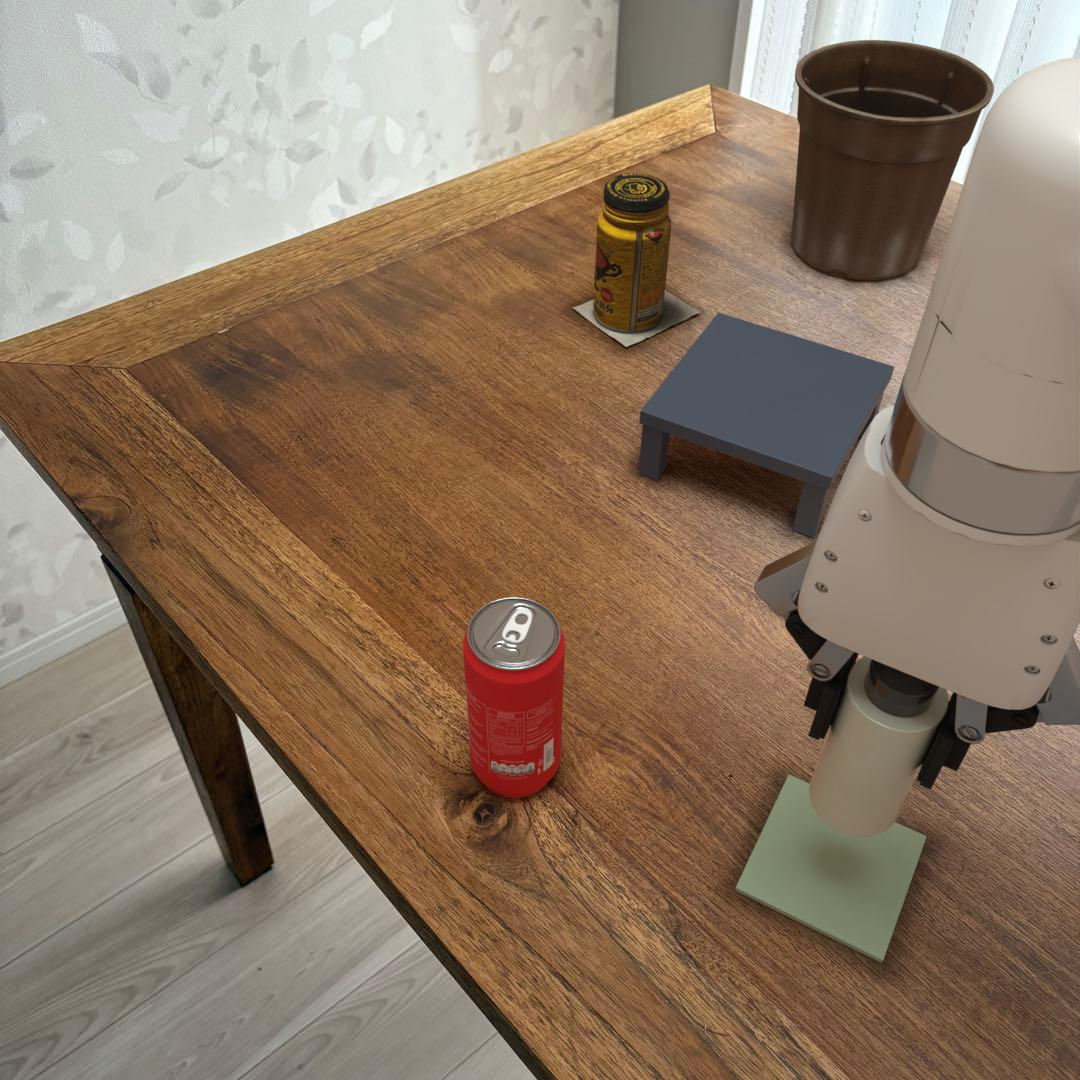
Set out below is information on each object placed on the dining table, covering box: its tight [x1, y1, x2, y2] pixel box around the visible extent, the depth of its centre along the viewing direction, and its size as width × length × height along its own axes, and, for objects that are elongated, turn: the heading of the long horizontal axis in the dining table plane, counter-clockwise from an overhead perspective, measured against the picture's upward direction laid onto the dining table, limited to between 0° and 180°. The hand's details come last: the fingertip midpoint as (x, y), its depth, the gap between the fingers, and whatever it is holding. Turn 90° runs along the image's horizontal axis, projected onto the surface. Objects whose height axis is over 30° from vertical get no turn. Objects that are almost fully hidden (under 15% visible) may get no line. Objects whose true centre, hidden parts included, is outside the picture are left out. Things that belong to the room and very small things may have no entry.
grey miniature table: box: [637, 312, 895, 539], centre depth 82 cm, size 14×14×6 cm
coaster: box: [734, 774, 928, 964], centre depth 60 cm, size 8×8×1 cm
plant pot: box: [790, 39, 995, 281], centre depth 99 cm, size 16×16×16 cm
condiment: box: [572, 172, 701, 348], centre depth 92 cm, size 7×8×12 cm
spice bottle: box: [809, 656, 950, 838], centre depth 52 cm, size 4×4×11 cm
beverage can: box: [462, 596, 566, 799], centre depth 60 cm, size 5×5×12 cm
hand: (878, 737), depth 52 cm, fingers closed on spice bottle, 4 cm apart
